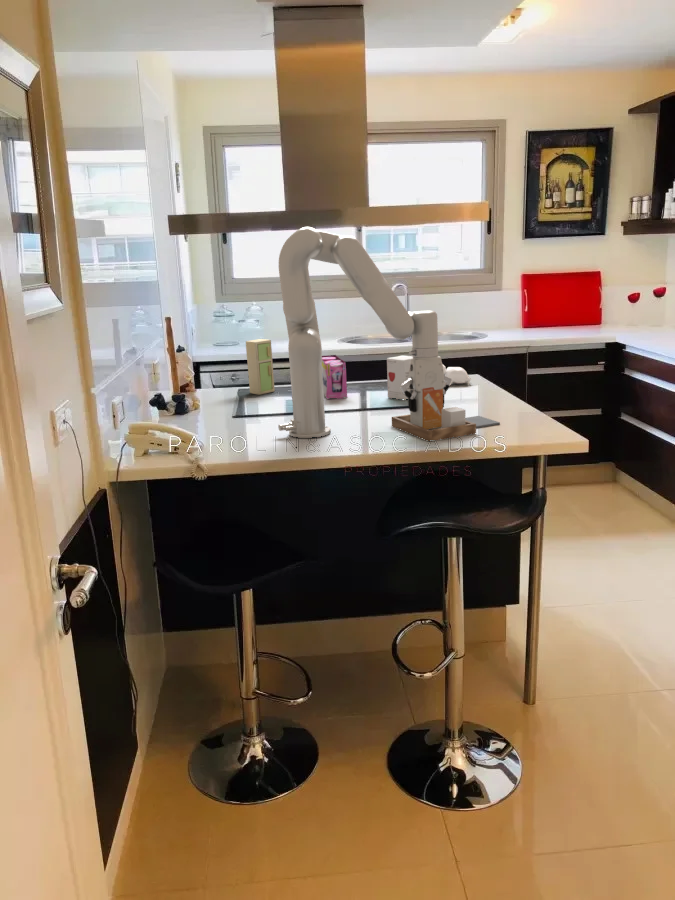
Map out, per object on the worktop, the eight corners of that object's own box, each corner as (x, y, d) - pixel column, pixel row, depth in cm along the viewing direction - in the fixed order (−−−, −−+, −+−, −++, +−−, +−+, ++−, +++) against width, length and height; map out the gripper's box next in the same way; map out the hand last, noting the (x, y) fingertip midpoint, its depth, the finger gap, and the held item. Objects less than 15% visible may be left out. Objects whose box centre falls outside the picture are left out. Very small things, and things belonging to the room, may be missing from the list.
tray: (428, 441, 198) (428, 431, 197) (391, 426, 217) (391, 416, 216) (476, 433, 204) (476, 423, 203) (436, 419, 223) (435, 410, 223)
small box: (422, 431, 210) (422, 388, 206) (410, 427, 215) (409, 385, 212) (443, 426, 214) (443, 384, 210) (430, 423, 219) (430, 382, 216)
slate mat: (469, 429, 209) (469, 427, 209) (449, 422, 219) (449, 420, 219) (499, 424, 214) (499, 422, 213) (478, 417, 223) (478, 415, 223)
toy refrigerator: (260, 395, 277) (256, 342, 271) (249, 393, 282) (245, 340, 276) (276, 392, 282) (272, 339, 276) (265, 390, 287) (261, 338, 282)
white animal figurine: (461, 389, 286) (427, 377, 284) (469, 369, 284) (435, 357, 282) (466, 393, 278) (431, 381, 276) (474, 373, 275) (438, 360, 274)
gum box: (348, 398, 263) (347, 362, 259) (327, 400, 261) (326, 364, 258) (337, 387, 285) (336, 354, 282) (318, 389, 284) (316, 355, 280)
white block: (450, 435, 203) (450, 412, 202) (441, 432, 208) (441, 409, 206) (465, 433, 205) (465, 409, 203) (455, 429, 210) (455, 406, 208)
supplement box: (386, 398, 260) (385, 358, 256) (403, 394, 266) (402, 354, 262) (404, 401, 253) (404, 359, 249) (421, 397, 259) (420, 356, 255)
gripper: (406, 357, 201) (407, 415, 206) (456, 351, 208) (457, 407, 213) (393, 354, 208) (395, 411, 213) (443, 348, 215) (444, 403, 219)
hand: (426, 409), depth 213 cm, fingers open, 9 cm apart
